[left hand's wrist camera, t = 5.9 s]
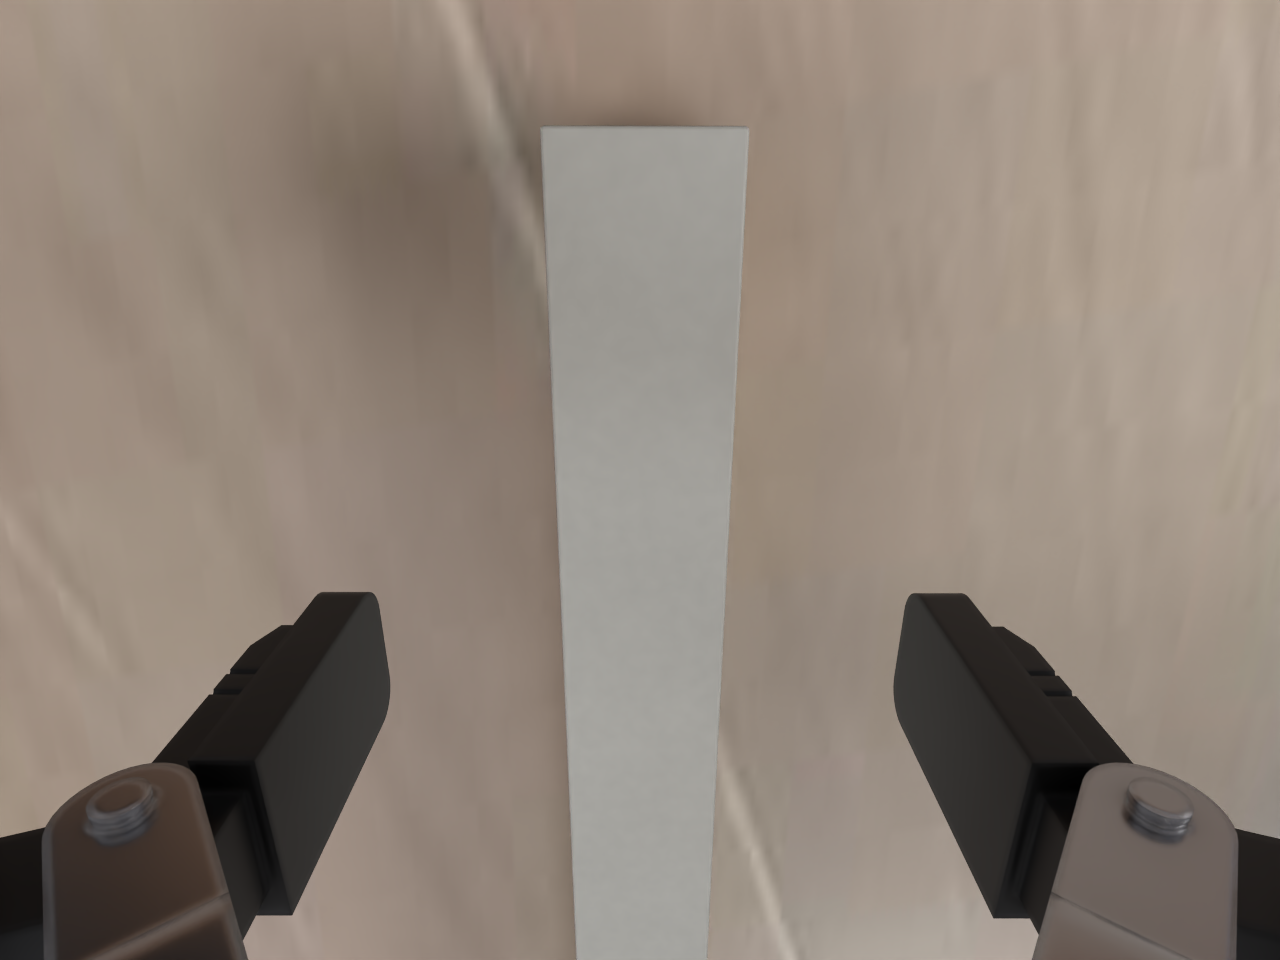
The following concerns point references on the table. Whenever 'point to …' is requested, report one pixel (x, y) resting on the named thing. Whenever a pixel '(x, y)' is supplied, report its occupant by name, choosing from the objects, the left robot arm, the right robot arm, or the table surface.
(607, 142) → the bar
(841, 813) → the table surface
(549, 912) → the table surface
